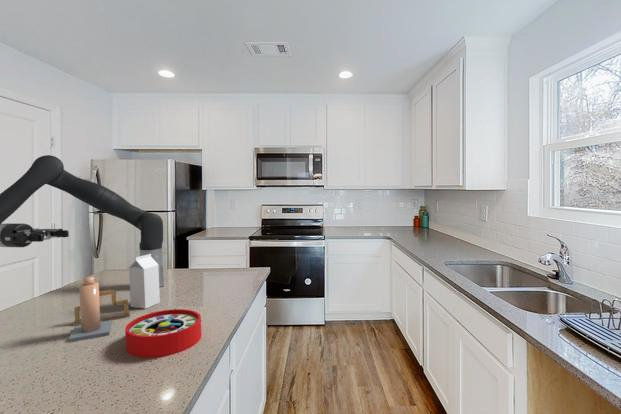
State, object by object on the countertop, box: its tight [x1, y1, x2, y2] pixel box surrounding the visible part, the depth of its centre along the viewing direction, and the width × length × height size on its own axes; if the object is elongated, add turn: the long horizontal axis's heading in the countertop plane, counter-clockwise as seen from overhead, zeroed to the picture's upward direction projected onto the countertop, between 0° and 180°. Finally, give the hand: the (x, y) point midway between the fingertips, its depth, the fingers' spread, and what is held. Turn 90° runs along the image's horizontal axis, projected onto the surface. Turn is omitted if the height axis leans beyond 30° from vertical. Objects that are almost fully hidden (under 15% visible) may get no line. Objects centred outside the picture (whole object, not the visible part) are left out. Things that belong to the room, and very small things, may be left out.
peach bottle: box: [78, 276, 102, 333], centre depth 103 cm, size 5×5×16 cm
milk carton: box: [128, 254, 161, 310], centre depth 126 cm, size 7×7×19 cm
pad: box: [68, 320, 113, 343], centre depth 103 cm, size 10×10×1 cm
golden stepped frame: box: [72, 289, 131, 327], centre depth 113 cm, size 16×3×10 cm, turn 117°
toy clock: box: [124, 308, 202, 359], centre depth 97 cm, size 20×6×20 cm
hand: (55, 235), depth 103 cm, fingers open, 8 cm apart
